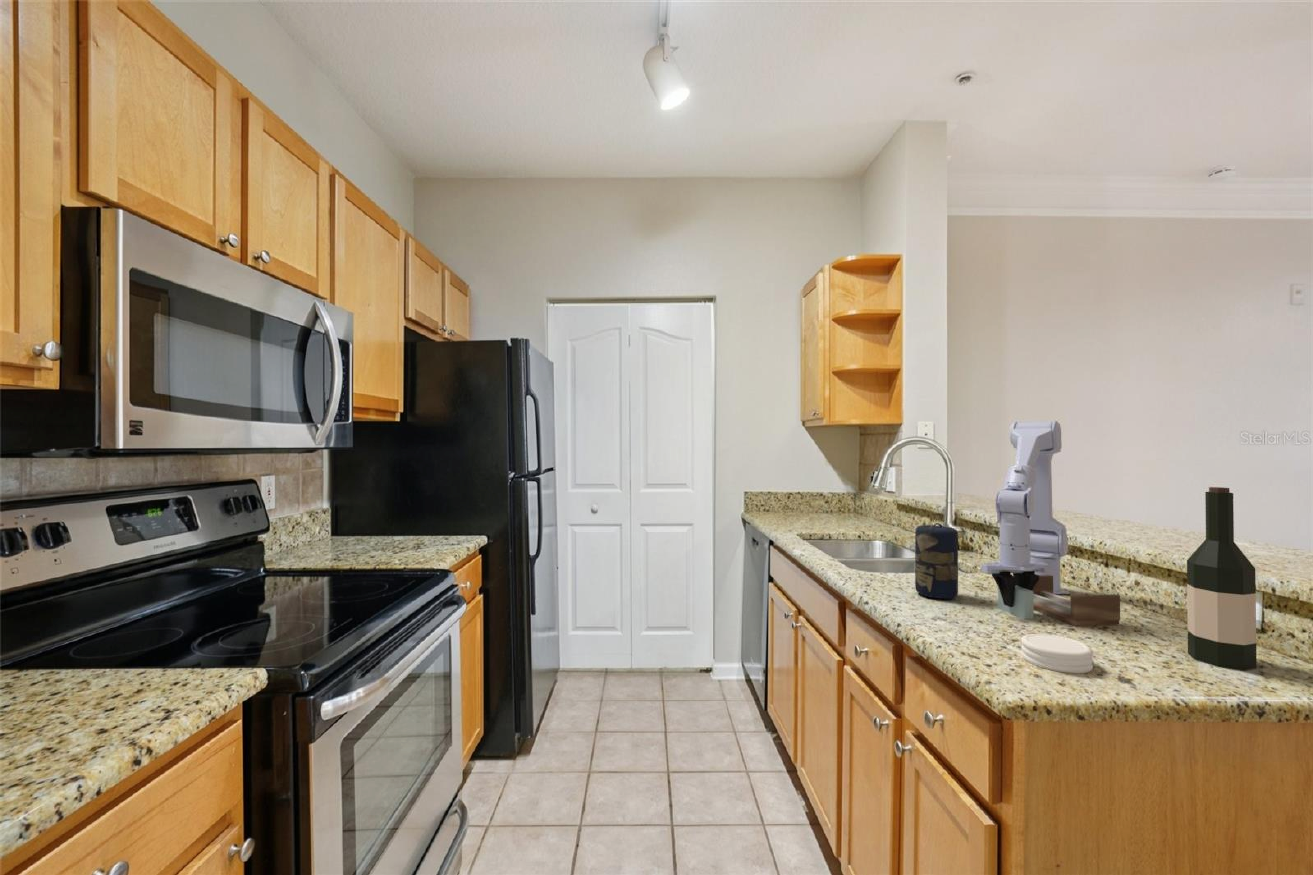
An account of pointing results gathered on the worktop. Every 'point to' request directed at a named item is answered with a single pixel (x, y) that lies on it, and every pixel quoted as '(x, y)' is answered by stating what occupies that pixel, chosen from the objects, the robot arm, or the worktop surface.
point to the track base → (1075, 605)
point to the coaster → (1057, 653)
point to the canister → (936, 561)
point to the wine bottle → (1221, 592)
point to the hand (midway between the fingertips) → (1015, 605)
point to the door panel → (1019, 603)
